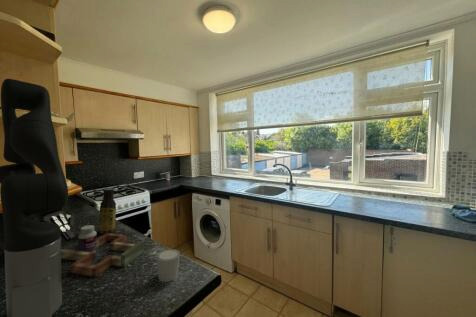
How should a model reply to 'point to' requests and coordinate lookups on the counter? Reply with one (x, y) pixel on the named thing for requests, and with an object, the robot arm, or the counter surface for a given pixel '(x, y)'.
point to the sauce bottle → (107, 212)
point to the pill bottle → (87, 239)
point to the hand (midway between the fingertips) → (71, 239)
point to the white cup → (168, 264)
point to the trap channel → (94, 270)
